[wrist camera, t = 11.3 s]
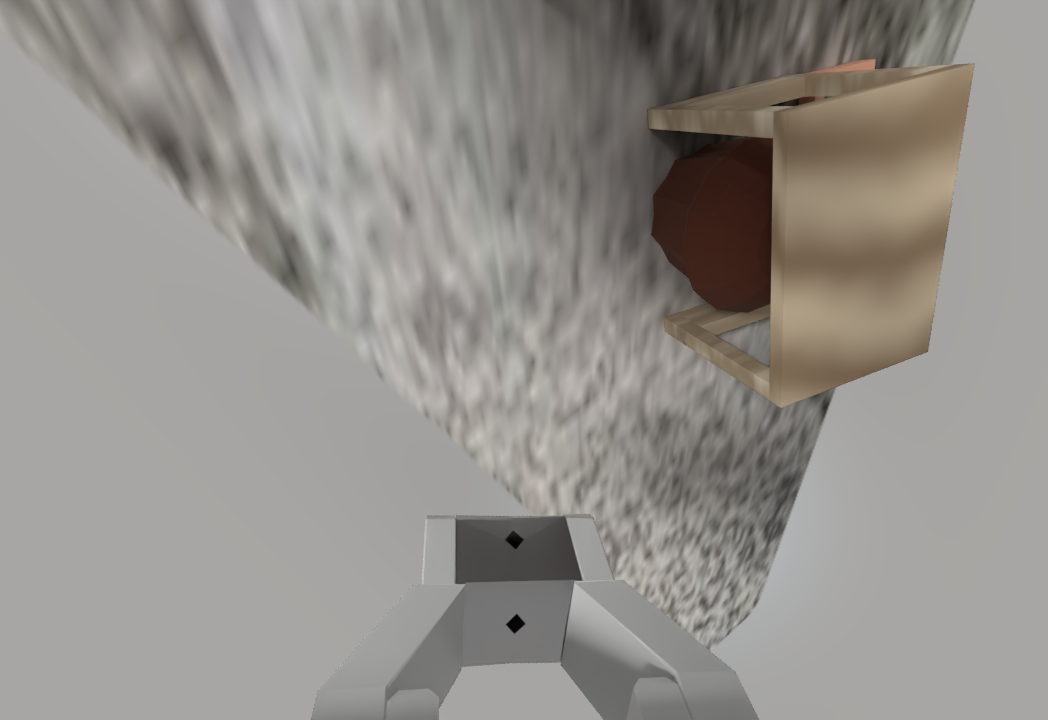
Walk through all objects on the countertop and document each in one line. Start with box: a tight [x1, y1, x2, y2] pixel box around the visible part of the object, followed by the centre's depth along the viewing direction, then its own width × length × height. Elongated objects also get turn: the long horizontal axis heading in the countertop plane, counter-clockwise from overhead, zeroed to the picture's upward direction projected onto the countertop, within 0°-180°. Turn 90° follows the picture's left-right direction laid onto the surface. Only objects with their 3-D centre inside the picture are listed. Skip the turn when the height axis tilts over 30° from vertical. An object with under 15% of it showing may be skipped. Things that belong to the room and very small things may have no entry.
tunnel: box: [647, 64, 975, 408], centre depth 36 cm, size 16×11×13 cm
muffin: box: [651, 137, 773, 313], centre depth 37 cm, size 12×11×10 cm
